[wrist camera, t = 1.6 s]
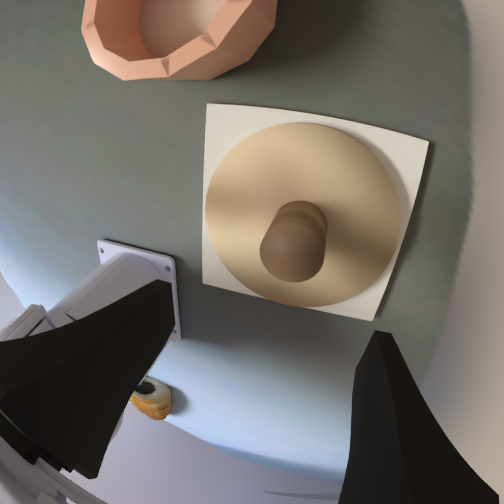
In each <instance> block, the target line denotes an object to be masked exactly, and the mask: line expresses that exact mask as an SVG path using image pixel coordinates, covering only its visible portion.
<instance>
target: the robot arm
mask: <svg viewBox="0 0 504 504" xmlns="http://www.w3.org/2000/svg"><path fill="white" fill-rule="evenodd" d="M97 245H98V250H99V256H100V261H101V266H100V267H98V268H97V269H96V270H95V271H94V272H93V273H91V274H90V275H89V276H88V277H87V278H86V279H84V280H83V281H82V282H81V283H80V284H79V285H78V286H76V287H75V288H74V289H73V290H72V291H71V292H70V293H69V294H68V295H66V296H65V297H64V298H63V299H62V300H61V301H60V302H59V303H58V304H57V305H55V306H54V307H53V308H52V309H51V310H49V311H47V312H46V310H45V308H44V307H43V306H42V305H39V306H38V305H34V304H31V305H30V306H28V307H27V308H26V309H24V310H23V311H22V312H21V313H20V314H19V315H17V316H16V317H15V318H14V319H13V320H12V321H11V322H10V323H9V324H7V326H5V327H4V328H3V329H2V330H1V331H0V504H68V503H67V502H66V497H67V498H69V499H70V500H71V501H73V502H75V503H76V504H107V503H105V502H103V501H102V500H100V499H99V498H97V497H95V496H94V495H92V494H91V493H89V492H87V491H86V490H84V489H83V488H81V487H80V486H78V485H77V484H75V483H74V482H72V481H71V480H69V479H68V478H67V477H65V476H64V475H62V474H61V473H60V470H66V471H68V472H69V473H71V472H72V470H73V469H74V470H75V471H77V472H78V473H80V474H81V475H83V476H84V477H86V478H88V479H94V478H97V476H98V473H99V470H100V467H101V463H102V461H103V458H104V455H105V452H106V449H107V447H108V444H109V442H111V440H112V439H113V438H114V437H115V435H116V434H117V432H118V430H119V428H120V426H121V424H122V420H123V413H124V409H125V407H126V405H127V403H128V401H129V399H130V397H131V396H132V394H133V392H134V391H135V389H136V388H137V386H138V385H140V384H141V383H142V381H143V380H144V379H145V377H146V376H147V374H148V373H149V371H150V370H151V368H152V367H153V365H154V364H155V362H156V361H157V359H158V358H159V356H160V355H161V353H162V352H163V350H164V349H165V347H166V346H167V344H168V343H169V341H170V340H172V341H175V342H179V341H180V340H181V329H180V319H179V309H178V297H177V284H176V270H175V261H174V259H173V258H172V257H170V256H167V255H163V254H159V253H155V252H151V251H147V250H143V249H139V248H135V247H131V246H127V245H123V244H119V243H115V242H111V241H108V240H104V239H101V240H99V241H98V243H97ZM168 267H170V269H169V268H168ZM338 504H499V495H498V494H497V493H496V492H495V491H494V490H493V489H492V488H491V487H490V486H488V484H486V483H485V482H484V481H483V480H482V479H481V478H480V477H479V476H478V475H477V474H476V472H475V471H474V470H473V469H472V468H471V467H470V466H469V465H468V464H467V462H466V461H465V460H464V459H463V457H462V456H461V455H460V454H459V452H458V451H457V450H456V448H455V447H454V446H453V444H452V443H451V442H450V440H449V439H448V438H447V436H446V435H445V433H444V432H443V430H442V428H441V427H440V425H439V424H438V422H437V421H436V419H435V418H434V416H433V414H432V413H431V411H430V409H429V407H428V406H427V404H426V402H425V400H424V398H423V397H422V395H421V393H420V391H419V389H418V387H417V385H416V383H415V381H414V379H413V377H412V375H411V373H410V371H409V369H408V367H407V365H406V363H405V361H404V359H403V356H402V354H401V352H400V350H399V348H398V346H397V344H396V342H395V340H394V338H393V336H392V334H391V333H387V332H381V331H376V330H375V331H374V333H373V335H372V337H371V339H370V342H369V344H368V346H367V348H366V350H365V352H364V354H363V356H362V358H361V360H360V362H359V363H358V365H357V367H356V371H355V378H354V386H353V393H352V417H351V438H350V451H349V459H348V464H347V469H346V474H345V478H344V483H343V487H342V491H341V494H340V498H339V502H338Z"/></svg>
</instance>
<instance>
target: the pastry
mask: <svg viewBox="0 0 504 504" xmlns="http://www.w3.org/2000/svg"><path fill="white" fill-rule="evenodd" d="M129 401H130V402H131V403H132V404H133V405H134V406H135V407H136V408H137V409H138V410H139V411H141V412H142V413H144V414H146V415H147V416H148V417H150V418H151V419H154V420H163V419H165V418H166V416H167V415H168V414H169V412H170V411H171V409H172V403H171V391H170V388H169V387H168V386H167V385H166V384H164V383H162V382H161V381H159V380H156V379H153V378H150V377H147V376H146V377H145V379H144V380H143V381H142V383H141V384H140V385H138V386H137V388H136V389H135V391H134V392H133V394H132V396H131V397H130V399H129Z"/></svg>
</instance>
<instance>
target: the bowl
mask: <svg viewBox="0 0 504 504" xmlns="http://www.w3.org/2000/svg"><path fill="white" fill-rule="evenodd" d="M277 1H278V0H86V1H85V7H84V13H83V21H82V29H81V31H82V34H83V36H84V39H85V42H86V44H87V47H88V49H89V52H90V54H91V57H92V59H93V62H94V63H95V64H97V65H99V66H101V67H102V68H104V69H106V70H107V71H109V72H111V73H112V74H114V75H116V76H117V77H119V78H121V79H122V80H124V81H133V80H158V81H182V80H212V79H214V78H216V77H217V76H219V75H221V74H223V73H225V72H227V71H229V70H231V69H233V68H235V67H237V66H239V65H241V64H243V63H245V62H247V61H249V60H250V59H251V57H252V56H253V55H254V53H255V52H256V51H257V49H258V48H259V47H260V45H261V44H262V43H263V41H264V40H265V39H266V38H267V36H268V35H269V34H270V32H271V31H272V30H273V29H274V27H275V21H276V11H277Z"/></svg>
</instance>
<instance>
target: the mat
mask: <svg viewBox="0 0 504 504" xmlns="http://www.w3.org/2000/svg"><path fill="white" fill-rule="evenodd" d="M296 122H305V123H315V124H320V125H324V126H328V127H332V128H334V129H337V130H339V131H342V132H344V133H346V134H348V135H349V136H351V137H353V138H355V139H356V140H358V141H359V142H360V143H361V144H363V145H364V146H365V147H367V148H368V149H369V150H370V151H371V152H372V153H373V154H374V155H375V156H376V158H377V159H378V160H379V161H380V163H381V164H382V166H383V167H384V168H385V170H386V171H387V173H388V175H389V177H390V179H391V180H392V182H393V184H394V187H395V190H396V193H397V196H398V200H399V205H400V210H401V228H400V236H399V240H398V244H397V248H396V250H395V253H394V255H393V258H392V259H391V261H390V263H389V265H388V266H387V268H386V269H385V271H384V272H383V273H382V274H381V276H380V277H379V278H378V279H377V280H376V281H375V282H374V283H373V284H372V285H371V286H369V287H368V288H367V289H365V290H364V291H363V292H361V293H359V294H358V295H356V296H354V297H352V298H350V299H347V300H345V301H343V302H340V303H336V304H333V305H328V306H322V307H305V308H309V309H314V310H319V311H323V312H328V313H333V314H338V315H343V316H348V317H353V318H358V319H363V320H368V321H372V320H373V318H374V316H375V313H376V311H377V308H378V306H379V304H380V301H381V299H382V296H383V294H384V291H385V289H386V286H387V284H388V281H389V278H390V276H391V273H392V270H393V268H394V265H395V262H396V259H397V256H398V253H399V251H400V248H401V245H402V242H403V239H404V235H405V232H406V229H407V226H408V223H409V219H410V216H411V213H412V209H413V206H414V202H415V198H416V195H417V191H418V187H419V183H420V179H421V175H422V171H423V167H424V162H425V158H426V153H427V148H428V144H429V142H428V141H426V140H423V139H420V138H416V137H413V136H410V135H406V134H403V133H399V132H395V131H391V130H388V129H384V128H380V127H376V126H371V125H367V124H363V123H358V122H354V121H349V120H344V119H339V118H334V117H328V116H323V115H317V114H311V113H305V112H298V111H291V110H283V109H275V108H266V107H256V106H245V105H232V104H215V103H208V104H207V114H206V132H205V154H204V181H203V233H202V276H203V283H204V284H207V285H211V286H215V287H219V288H223V289H227V290H231V291H235V292H240V293H244V294H248V295H252V296H256V297H261V298H264V297H262V296H260V295H258V294H256V293H255V292H253V291H251V290H250V289H248V288H247V287H245V286H244V285H243V284H242V283H241V282H239V281H238V280H237V279H236V278H235V277H234V276H233V275H232V274H231V273H230V272H229V271H228V270H227V268H226V267H225V266H224V265H223V263H222V262H221V260H220V259H219V257H218V255H217V254H216V252H215V250H214V248H213V245H212V243H211V240H210V237H209V234H208V231H207V225H206V218H205V203H206V195H207V191H208V186H209V184H210V181H211V178H212V176H213V174H214V172H215V170H216V168H217V166H218V165H219V163H220V162H221V161H222V159H223V158H224V157H225V155H226V154H227V153H228V152H229V151H230V150H231V149H232V148H233V147H234V146H235V145H237V144H238V143H239V142H241V141H242V140H244V139H245V138H246V137H248V136H250V135H252V134H254V133H256V132H258V131H260V130H263V129H266V128H269V127H272V126H275V125H280V124H285V123H296ZM265 299H267V298H265Z"/></svg>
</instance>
